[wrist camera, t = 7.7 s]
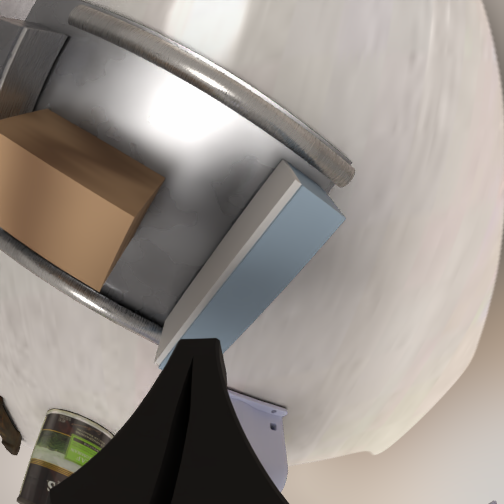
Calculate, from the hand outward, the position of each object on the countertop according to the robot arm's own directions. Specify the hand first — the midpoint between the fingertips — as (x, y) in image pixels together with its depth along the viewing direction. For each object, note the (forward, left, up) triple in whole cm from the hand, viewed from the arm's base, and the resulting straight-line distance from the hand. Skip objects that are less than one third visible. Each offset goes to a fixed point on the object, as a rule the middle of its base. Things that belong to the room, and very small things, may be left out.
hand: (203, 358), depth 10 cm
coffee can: (+1, +33, -9) cm, 34 cm away
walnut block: (+8, 0, -8) cm, 11 cm away
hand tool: (+12, +47, -9) cm, 49 cm away
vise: (+7, 0, -8) cm, 11 cm away
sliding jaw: (-1, 0, -7) cm, 7 cm away
